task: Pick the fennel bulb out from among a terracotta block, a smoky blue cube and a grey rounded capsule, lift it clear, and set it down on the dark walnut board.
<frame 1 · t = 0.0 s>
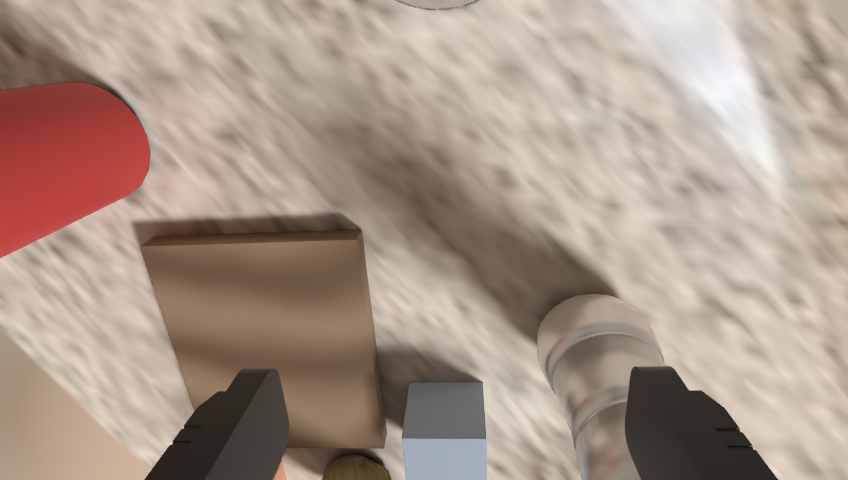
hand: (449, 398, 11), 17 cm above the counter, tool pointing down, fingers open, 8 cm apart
smoky blue cube: (447, 409, 33), on the counter
beer can: (102, 140, 27), on the counter
walnut board: (280, 342, 32), on the counter
plastic bottle: (584, 323, 30), on the counter
fennel bulb: (360, 468, 36), on the counter
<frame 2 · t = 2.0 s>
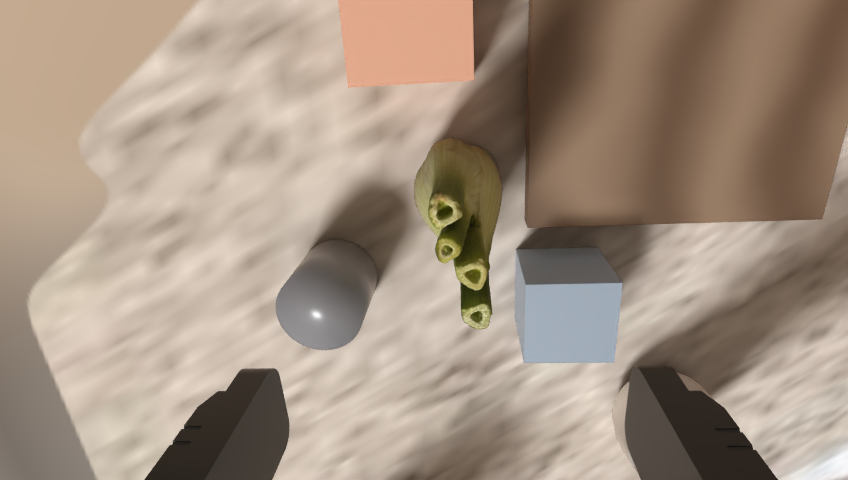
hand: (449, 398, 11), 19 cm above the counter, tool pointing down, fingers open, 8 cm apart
grey rounded capsule: (340, 274, 31), on the counter
smoky blue cube: (554, 283, 30), on the counter
walnut board: (675, 102, 26), on the counter
plastic bottle: (650, 395, 33), on the counter
fennel bulb: (457, 180, 29), on the counter
terracotta block: (416, 40, 26), on the counter
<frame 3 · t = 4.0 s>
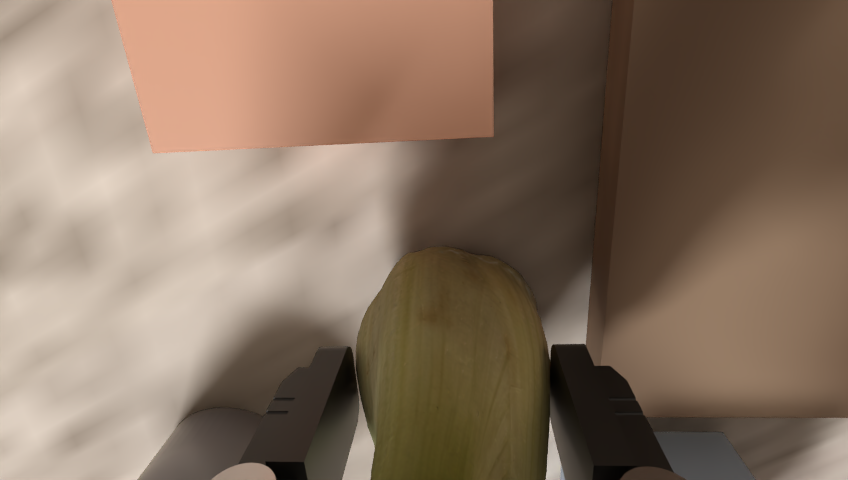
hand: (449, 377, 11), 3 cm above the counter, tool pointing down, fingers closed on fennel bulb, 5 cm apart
grey rounded capsule: (238, 462, 17), on the counter
fennel bulb: (451, 311, 14), on the counter, touching gripper
terracotta block: (357, 29, 12), on the counter
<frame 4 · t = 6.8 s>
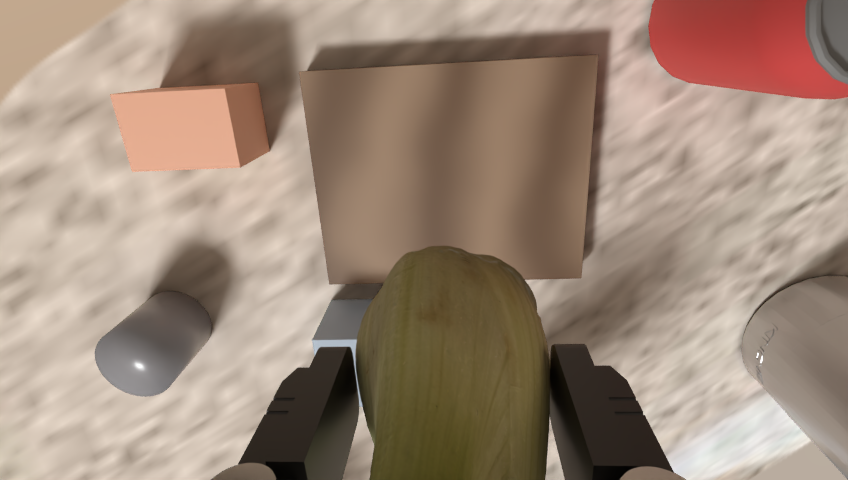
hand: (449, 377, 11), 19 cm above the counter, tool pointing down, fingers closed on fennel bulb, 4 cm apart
grey rounded capsule: (177, 321, 34), on the counter
smoky blue cube: (370, 329, 34), on the counter
beer can: (705, 18, 25), on the counter
walnut board: (449, 175, 29), on the counter
fennel bulb: (451, 310, 14), point 16 cm above the counter, touching gripper
terracotta block: (216, 119, 29), on the counter
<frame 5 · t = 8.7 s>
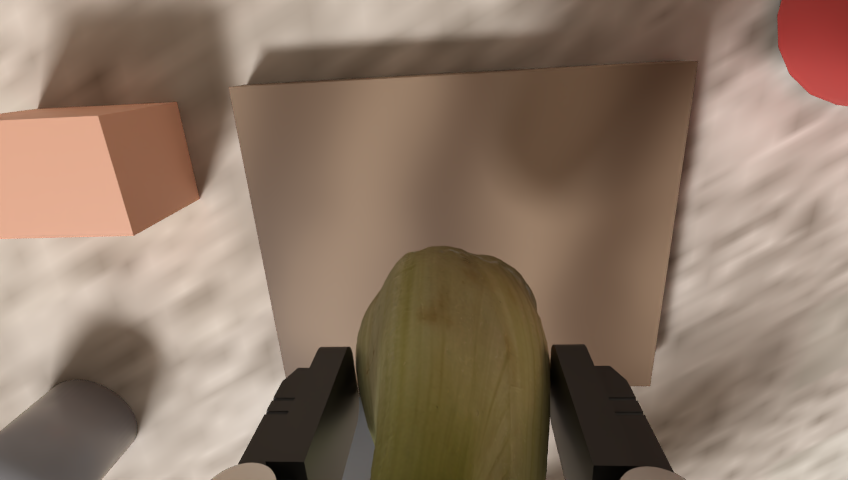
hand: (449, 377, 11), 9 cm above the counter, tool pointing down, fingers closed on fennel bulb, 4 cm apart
grey rounded capsule: (92, 417, 25), on the counter
smoky blue cube: (349, 434, 25), on the counter
walnut board: (458, 236, 20), on the counter
fennel bulb: (451, 310, 14), point 6 cm above the counter, touching gripper
terracotta block: (122, 154, 20), on the counter
when the fingers open (6 cm above the counter, at t = 9.9 s): fennel bulb drops 1 cm, resting on walnut board.
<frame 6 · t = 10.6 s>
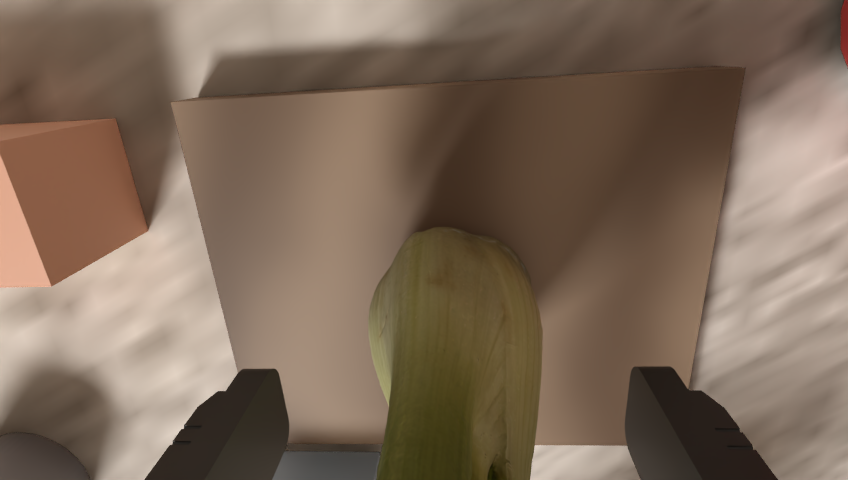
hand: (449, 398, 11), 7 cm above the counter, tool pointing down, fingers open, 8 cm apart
grey rounded capsule: (39, 473, 22), on the counter
walnut board: (452, 272, 17), on the counter
fennel bulb: (453, 289, 16), point 1 cm above the counter, touching walnut board
terracotta block: (55, 179, 17), on the counter
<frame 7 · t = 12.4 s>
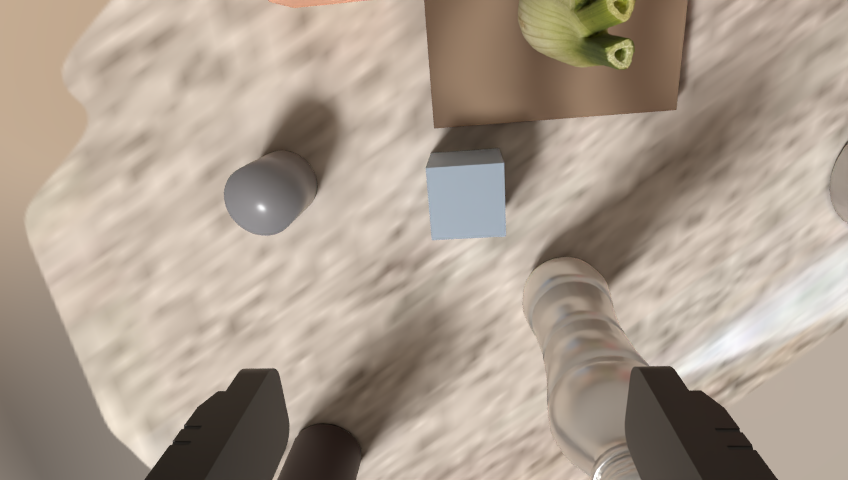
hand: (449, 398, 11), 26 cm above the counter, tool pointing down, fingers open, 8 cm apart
grey rounded capsule: (285, 182, 37), on the counter
smoky blue cube: (466, 183, 36), on the counter
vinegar: (329, 446, 47), on the counter
walnut board: (549, 15, 31), on the counter
plastic bottle: (558, 285, 38), on the counter
fennel bulb: (553, 13, 30), point 1 cm above the counter, touching walnut board
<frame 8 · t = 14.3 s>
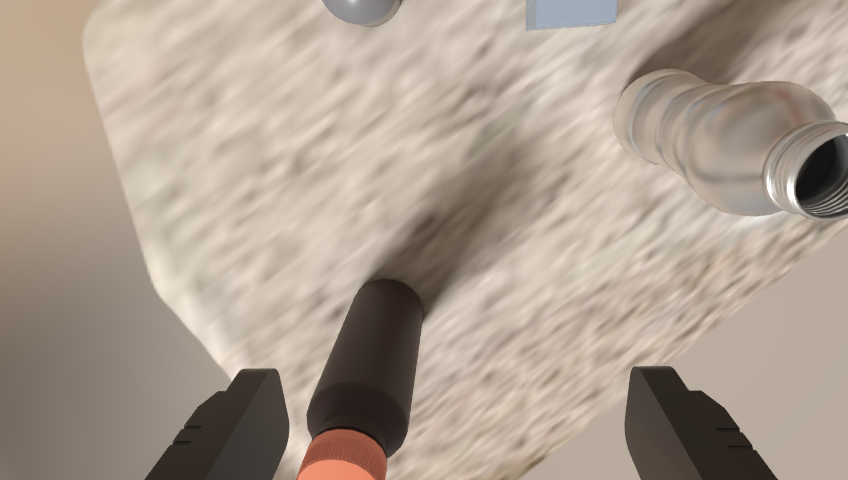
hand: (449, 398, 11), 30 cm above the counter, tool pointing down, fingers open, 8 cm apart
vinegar: (388, 308, 45), on the counter
plastic bottle: (647, 113, 37), on the counter
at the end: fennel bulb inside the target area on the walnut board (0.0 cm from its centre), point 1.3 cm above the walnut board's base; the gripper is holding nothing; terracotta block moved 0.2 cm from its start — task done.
